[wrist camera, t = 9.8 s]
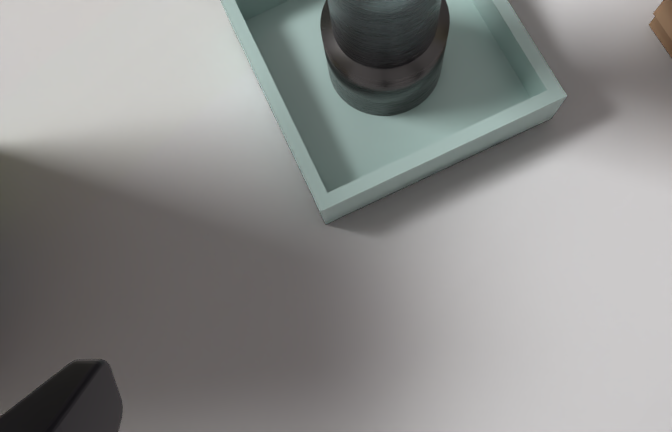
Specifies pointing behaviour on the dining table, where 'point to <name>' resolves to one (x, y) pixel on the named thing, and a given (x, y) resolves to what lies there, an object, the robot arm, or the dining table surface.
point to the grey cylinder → (384, 51)
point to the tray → (402, 129)
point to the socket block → (663, 24)
